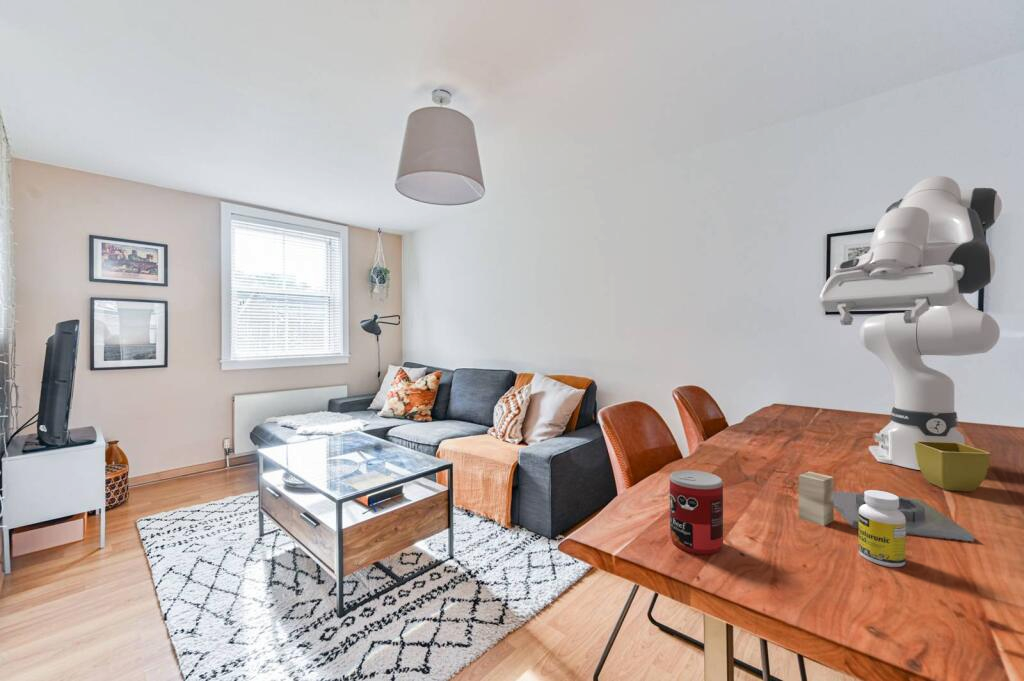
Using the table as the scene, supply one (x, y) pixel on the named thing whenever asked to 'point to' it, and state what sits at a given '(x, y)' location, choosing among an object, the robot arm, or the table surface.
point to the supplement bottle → (882, 529)
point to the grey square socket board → (906, 517)
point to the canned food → (696, 511)
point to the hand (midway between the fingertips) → (876, 322)
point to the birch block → (816, 498)
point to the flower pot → (952, 464)
